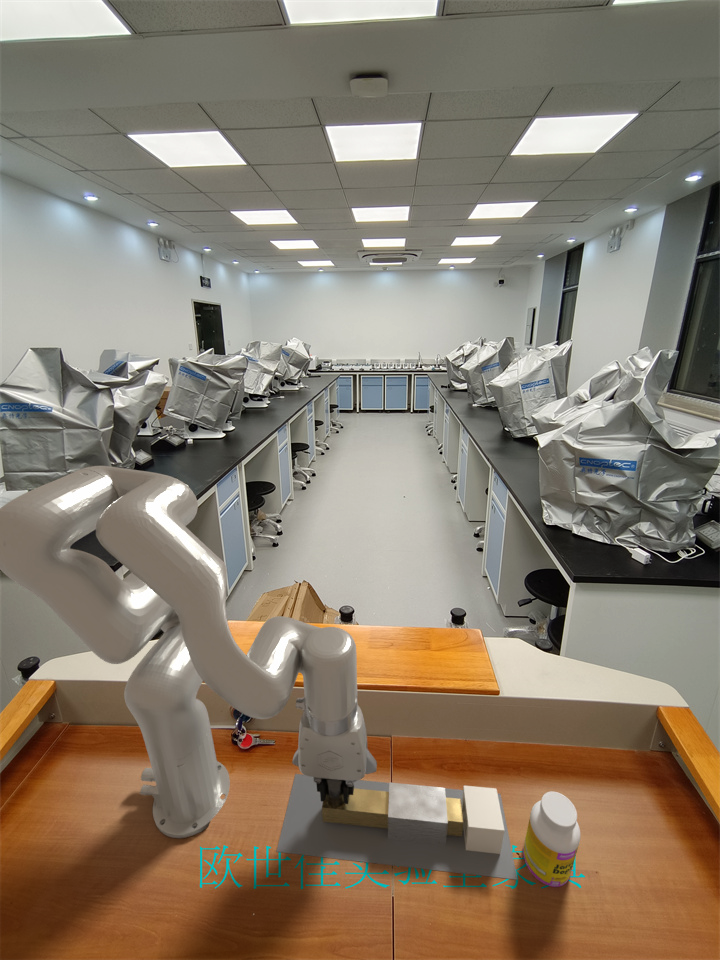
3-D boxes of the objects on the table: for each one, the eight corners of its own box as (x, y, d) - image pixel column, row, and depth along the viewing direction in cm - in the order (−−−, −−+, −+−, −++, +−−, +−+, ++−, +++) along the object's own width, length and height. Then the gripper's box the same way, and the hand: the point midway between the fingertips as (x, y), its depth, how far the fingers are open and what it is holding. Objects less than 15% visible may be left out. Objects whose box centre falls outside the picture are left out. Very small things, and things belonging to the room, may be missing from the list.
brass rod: (322, 821, 68) (320, 783, 65) (326, 799, 71) (324, 762, 68) (461, 836, 66) (466, 798, 63) (459, 812, 69) (463, 775, 66)
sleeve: (387, 838, 67) (388, 817, 65) (389, 803, 71) (389, 782, 70) (445, 844, 66) (447, 823, 64) (443, 808, 71) (444, 787, 69)
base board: (277, 856, 66) (276, 851, 65) (295, 778, 77) (295, 773, 76) (516, 884, 62) (517, 879, 62) (499, 798, 73) (500, 793, 73)
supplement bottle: (548, 902, 60) (562, 845, 56) (512, 853, 66) (523, 798, 61) (579, 875, 63) (595, 818, 58) (543, 830, 68) (555, 776, 64)
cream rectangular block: (465, 850, 65) (468, 826, 63) (461, 808, 71) (463, 785, 69) (500, 853, 65) (504, 830, 63) (493, 811, 70) (496, 788, 68)
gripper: (269, 726, 59) (279, 813, 65) (387, 736, 57) (385, 824, 64) (283, 683, 66) (292, 765, 72) (389, 691, 64) (387, 774, 71)
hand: (335, 792), depth 68 cm, fingers closed on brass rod, 3 cm apart
